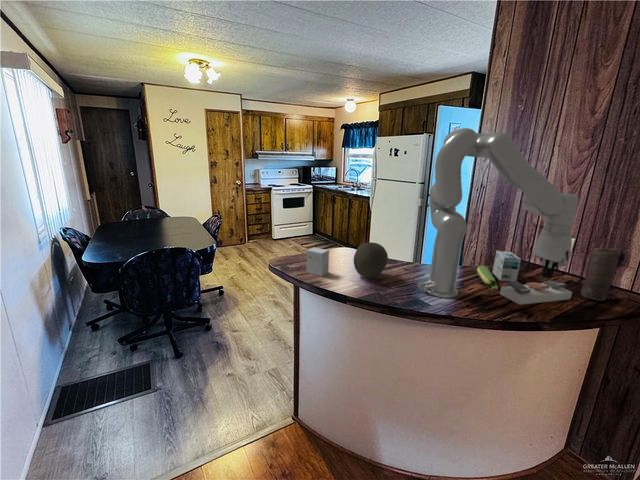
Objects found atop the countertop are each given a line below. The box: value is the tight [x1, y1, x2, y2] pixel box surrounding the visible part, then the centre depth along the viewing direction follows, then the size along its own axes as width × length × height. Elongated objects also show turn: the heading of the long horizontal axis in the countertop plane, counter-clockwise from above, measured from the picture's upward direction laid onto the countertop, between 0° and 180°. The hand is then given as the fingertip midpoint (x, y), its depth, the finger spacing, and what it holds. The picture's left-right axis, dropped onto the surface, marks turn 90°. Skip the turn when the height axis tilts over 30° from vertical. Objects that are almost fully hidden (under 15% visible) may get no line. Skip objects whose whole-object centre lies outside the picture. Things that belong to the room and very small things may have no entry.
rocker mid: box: [525, 281, 549, 289], centre depth 117 cm, size 4×6×1 cm, turn 14°
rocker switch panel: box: [499, 282, 573, 306], centre depth 118 cm, size 24×9×4 cm, turn 104°
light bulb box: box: [492, 250, 522, 283], centre depth 136 cm, size 11×7×11 cm, turn 168°
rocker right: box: [542, 280, 568, 288], centre depth 120 cm, size 4×6×1 cm, turn 14°
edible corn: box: [475, 265, 498, 290], centre depth 132 cm, size 5×20×5 cm
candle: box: [580, 247, 621, 301], centre depth 116 cm, size 8×7×20 cm
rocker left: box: [508, 281, 531, 294], centre depth 115 cm, size 4×6×1 cm, turn 14°
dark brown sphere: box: [353, 241, 389, 280], centre depth 131 cm, size 14×14×15 cm
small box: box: [306, 247, 330, 277], centre depth 134 cm, size 8×6×10 cm
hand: (546, 276), depth 114 cm, fingers closed
